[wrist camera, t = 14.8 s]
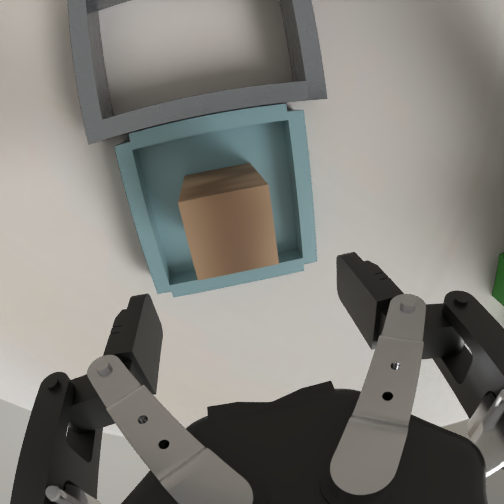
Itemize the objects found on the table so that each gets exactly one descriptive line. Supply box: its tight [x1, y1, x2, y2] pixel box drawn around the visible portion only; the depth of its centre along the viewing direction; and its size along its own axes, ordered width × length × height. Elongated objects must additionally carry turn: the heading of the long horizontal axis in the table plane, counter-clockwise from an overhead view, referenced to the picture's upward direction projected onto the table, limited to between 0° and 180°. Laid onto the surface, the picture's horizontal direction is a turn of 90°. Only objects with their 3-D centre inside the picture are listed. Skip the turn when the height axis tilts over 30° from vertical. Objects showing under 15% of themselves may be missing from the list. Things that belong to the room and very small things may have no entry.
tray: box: [114, 104, 317, 297], centre depth 24 cm, size 13×13×2 cm
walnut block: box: [178, 163, 279, 281], centre depth 21 cm, size 5×5×7 cm
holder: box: [68, 0, 327, 145], centre depth 18 cm, size 17×12×3 cm
